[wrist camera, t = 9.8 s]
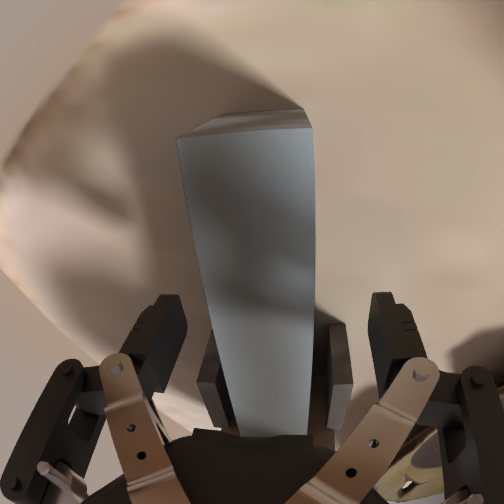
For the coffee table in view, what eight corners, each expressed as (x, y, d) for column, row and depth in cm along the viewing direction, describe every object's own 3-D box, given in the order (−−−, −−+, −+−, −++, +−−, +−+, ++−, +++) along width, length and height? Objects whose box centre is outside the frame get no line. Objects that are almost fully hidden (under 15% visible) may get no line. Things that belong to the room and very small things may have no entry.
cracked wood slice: (322, 426, 25) (321, 503, 18) (605, 264, 13) (651, 319, 7) (394, 479, 33) (397, 526, 26) (580, 382, 21) (598, 423, 14)
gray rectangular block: (303, 108, 13) (312, 128, 8) (306, 366, 21) (306, 443, 16) (221, 114, 13) (175, 139, 8) (254, 366, 21) (242, 441, 16)
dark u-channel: (345, 324, 18) (361, 568, 6) (330, 422, 24) (327, 574, 12) (213, 324, 20) (148, 551, 8) (238, 421, 25) (211, 567, 13)
